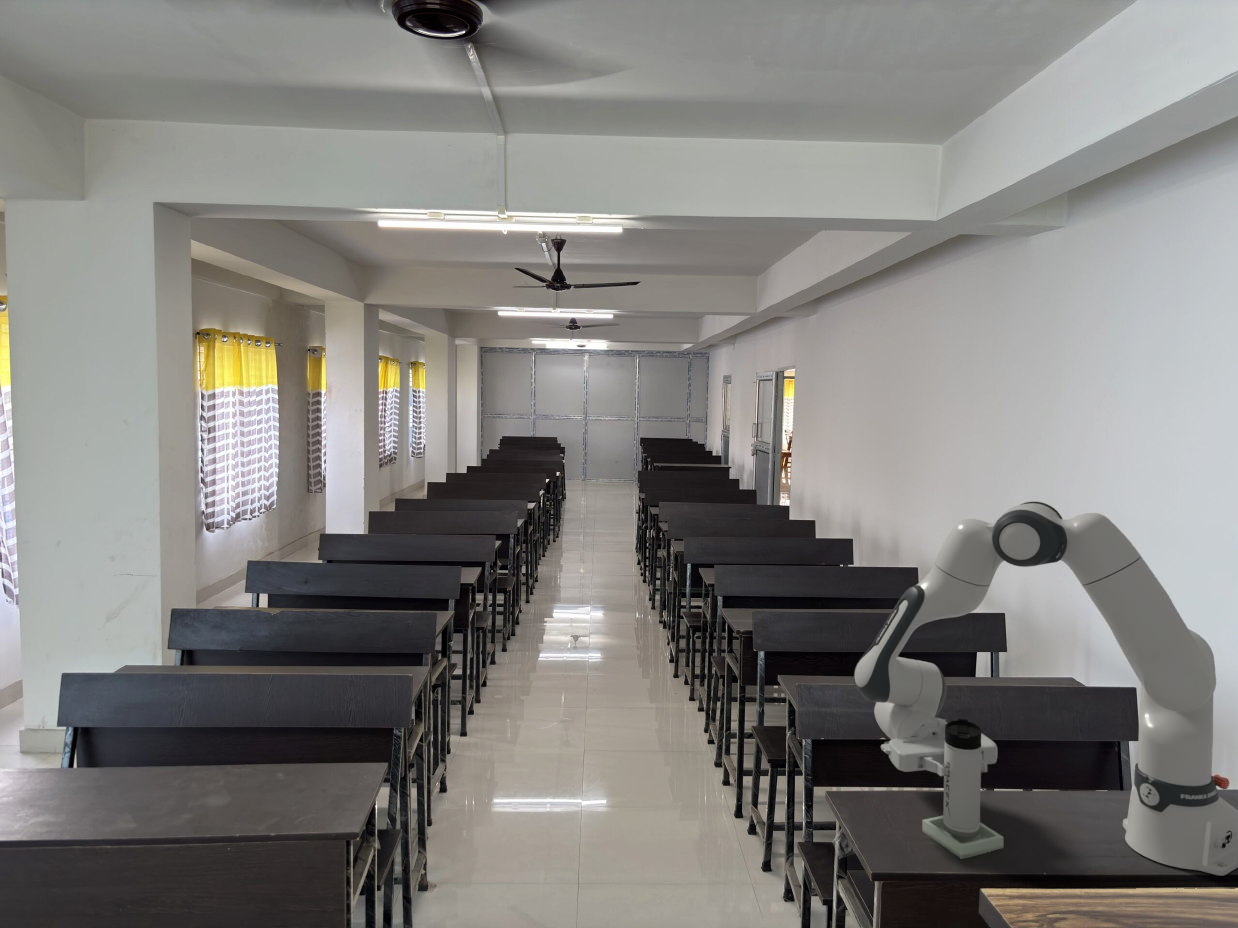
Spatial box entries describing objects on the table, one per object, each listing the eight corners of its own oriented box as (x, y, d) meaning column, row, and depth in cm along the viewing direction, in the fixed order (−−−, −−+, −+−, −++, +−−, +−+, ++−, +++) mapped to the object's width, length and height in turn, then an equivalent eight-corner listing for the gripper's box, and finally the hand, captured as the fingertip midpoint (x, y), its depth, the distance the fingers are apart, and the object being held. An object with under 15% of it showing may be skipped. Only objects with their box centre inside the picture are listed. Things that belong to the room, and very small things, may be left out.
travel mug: (979, 823, 159) (981, 720, 157) (980, 841, 152) (982, 733, 151) (943, 817, 161) (945, 716, 159) (942, 835, 155) (944, 729, 153)
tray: (962, 821, 163) (962, 810, 163) (1003, 848, 153) (1003, 836, 153) (922, 830, 160) (922, 819, 160) (961, 858, 150) (961, 847, 150)
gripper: (876, 728, 166) (911, 758, 153) (972, 720, 170) (1015, 748, 156) (876, 759, 167) (911, 791, 153) (972, 750, 170) (1014, 781, 157)
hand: (964, 770), depth 155 cm, fingers closed on travel mug, 6 cm apart
